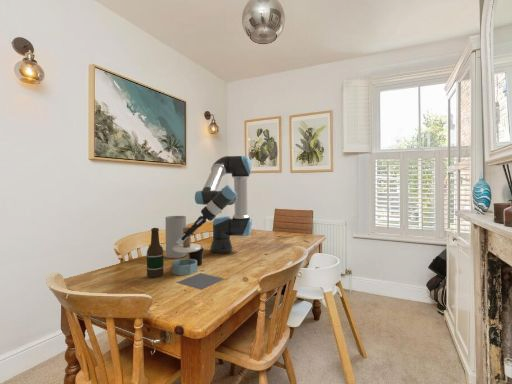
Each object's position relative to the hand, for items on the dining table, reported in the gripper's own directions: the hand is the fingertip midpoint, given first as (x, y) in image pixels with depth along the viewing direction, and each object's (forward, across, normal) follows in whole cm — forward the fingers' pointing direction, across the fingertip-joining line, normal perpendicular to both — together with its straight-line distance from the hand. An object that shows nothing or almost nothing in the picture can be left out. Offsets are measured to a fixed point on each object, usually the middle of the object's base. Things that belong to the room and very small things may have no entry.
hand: (179, 242), depth 140 cm
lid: (0, 0, -5) cm, 5 cm away
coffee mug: (+8, +15, -15) cm, 23 cm away
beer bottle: (+19, -6, -4) cm, 20 cm away
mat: (+1, -12, -21) cm, 24 cm away
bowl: (+10, +2, -13) cm, 16 cm away
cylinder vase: (+20, +33, -3) cm, 38 cm away
